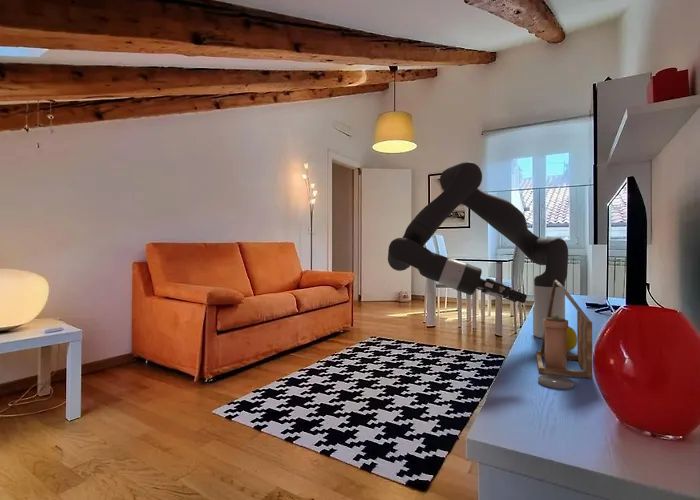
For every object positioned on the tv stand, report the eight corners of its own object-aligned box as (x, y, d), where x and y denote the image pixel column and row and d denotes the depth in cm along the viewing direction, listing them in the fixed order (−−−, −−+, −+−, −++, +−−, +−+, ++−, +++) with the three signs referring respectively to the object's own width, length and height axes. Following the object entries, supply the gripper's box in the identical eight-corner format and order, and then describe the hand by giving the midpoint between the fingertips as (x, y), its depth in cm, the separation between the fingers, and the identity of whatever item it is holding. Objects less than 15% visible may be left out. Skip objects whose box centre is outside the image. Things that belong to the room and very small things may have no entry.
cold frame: (536, 355, 107) (535, 279, 107) (581, 359, 102) (581, 280, 102) (539, 372, 92) (538, 284, 92) (592, 378, 88) (592, 285, 88)
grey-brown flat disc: (531, 378, 88) (531, 375, 88) (560, 377, 89) (560, 374, 89) (550, 390, 81) (550, 386, 81) (581, 388, 82) (581, 384, 82)
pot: (538, 364, 98) (538, 312, 98) (558, 363, 99) (558, 311, 99) (552, 371, 93) (551, 315, 93) (573, 370, 93) (573, 315, 93)
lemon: (556, 348, 113) (556, 322, 113) (578, 351, 110) (577, 324, 110) (553, 353, 109) (553, 325, 109) (576, 356, 106) (576, 327, 106)
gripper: (467, 260, 94) (534, 284, 90) (462, 264, 108) (519, 285, 104) (456, 289, 94) (523, 314, 90) (452, 289, 108) (510, 311, 104)
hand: (521, 299), depth 97 cm, fingers open, 8 cm apart
